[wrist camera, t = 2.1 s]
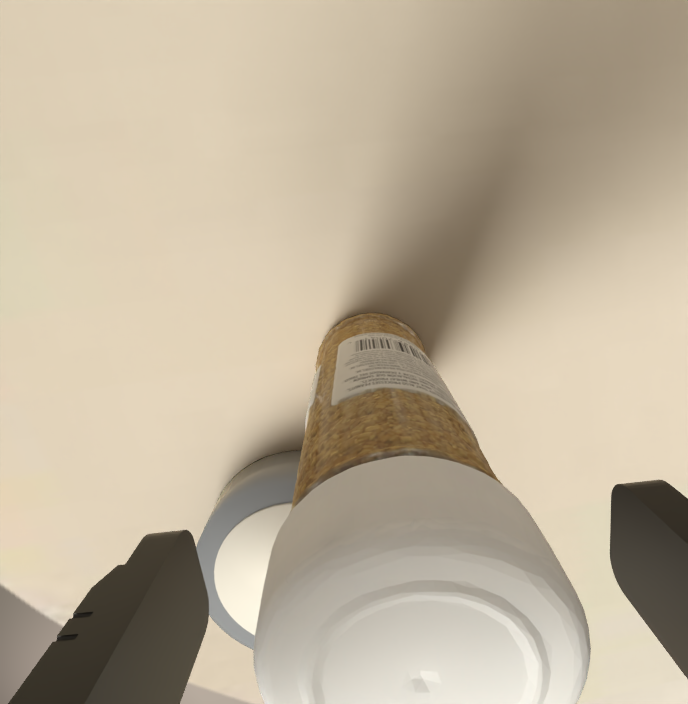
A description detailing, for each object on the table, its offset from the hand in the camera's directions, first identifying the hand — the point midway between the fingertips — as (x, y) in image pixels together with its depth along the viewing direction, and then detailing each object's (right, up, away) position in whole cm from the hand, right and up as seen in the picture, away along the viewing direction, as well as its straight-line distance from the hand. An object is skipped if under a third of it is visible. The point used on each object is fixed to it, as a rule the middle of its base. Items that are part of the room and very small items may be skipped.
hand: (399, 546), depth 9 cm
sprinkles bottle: (0, +3, +10) cm, 11 cm away
